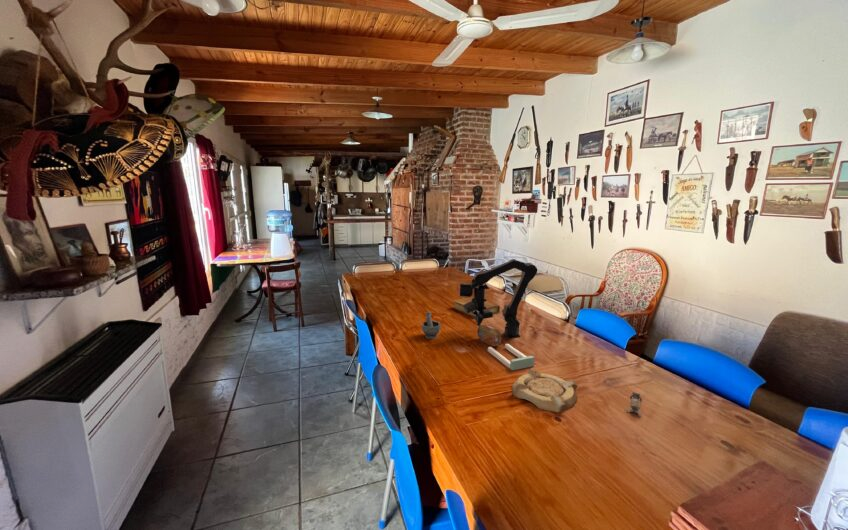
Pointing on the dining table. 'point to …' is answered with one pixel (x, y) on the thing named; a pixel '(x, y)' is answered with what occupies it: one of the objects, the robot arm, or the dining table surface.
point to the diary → (459, 303)
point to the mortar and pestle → (430, 327)
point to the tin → (489, 335)
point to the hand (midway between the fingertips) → (478, 325)
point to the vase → (635, 403)
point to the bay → (515, 363)
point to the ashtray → (546, 391)
